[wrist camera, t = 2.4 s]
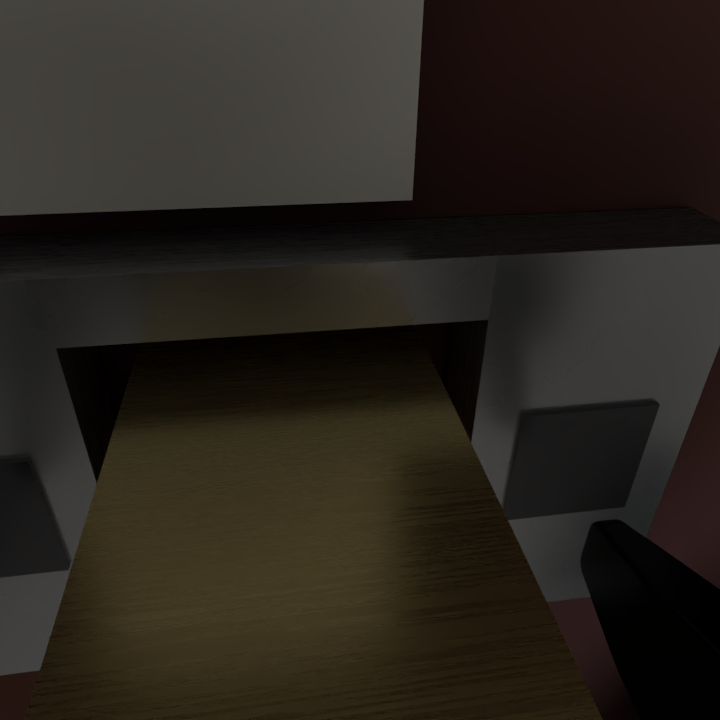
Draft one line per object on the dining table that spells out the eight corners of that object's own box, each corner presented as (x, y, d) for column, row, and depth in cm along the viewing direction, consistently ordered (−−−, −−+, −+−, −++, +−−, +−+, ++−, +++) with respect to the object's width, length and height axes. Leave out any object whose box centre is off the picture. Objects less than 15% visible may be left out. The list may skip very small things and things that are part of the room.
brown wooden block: (183, 523, 12) (121, 1018, 6) (142, 332, 10) (-11, 840, 4) (398, 501, 13) (522, 933, 7) (410, 315, 10) (611, 736, 5)
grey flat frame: (-40, 610, 13) (-77, 690, 11) (-240, 246, 8) (-342, 301, 7) (590, 534, 14) (627, 596, 13) (692, 207, 10) (764, 244, 9)
